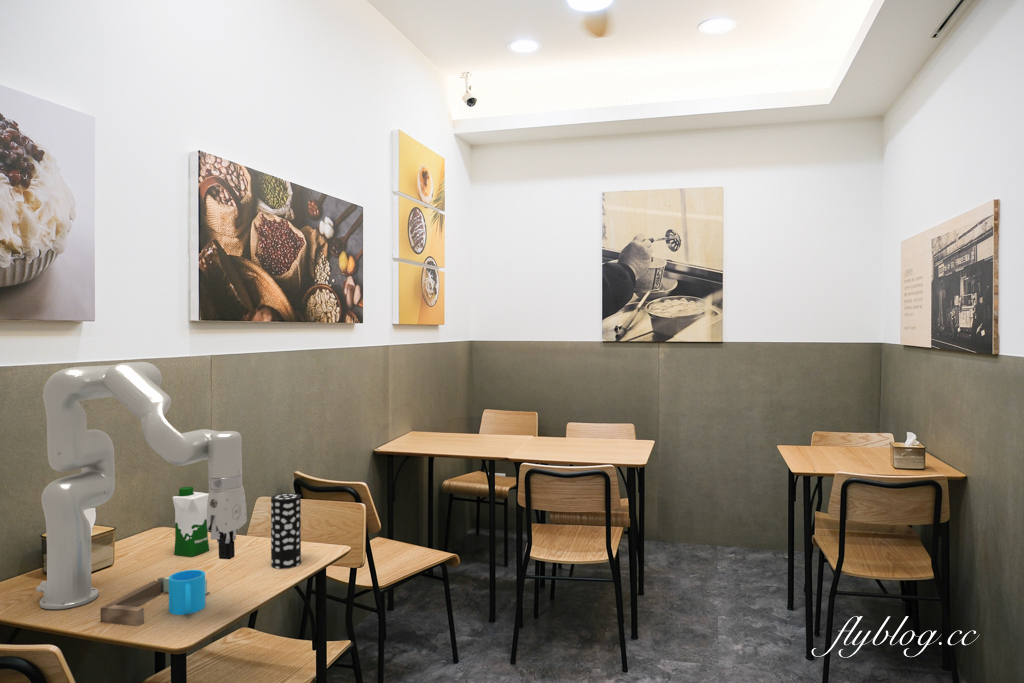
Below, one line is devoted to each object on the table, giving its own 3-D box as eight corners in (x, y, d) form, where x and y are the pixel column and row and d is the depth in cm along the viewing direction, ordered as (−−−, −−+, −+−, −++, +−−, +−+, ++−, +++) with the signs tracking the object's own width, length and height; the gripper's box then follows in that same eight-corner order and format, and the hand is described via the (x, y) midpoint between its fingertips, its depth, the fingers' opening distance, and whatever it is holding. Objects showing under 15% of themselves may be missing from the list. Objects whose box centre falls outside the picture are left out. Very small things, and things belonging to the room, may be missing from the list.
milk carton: (191, 547, 218) (191, 484, 218) (214, 550, 215) (213, 486, 215) (169, 555, 210) (169, 490, 210) (192, 558, 207) (192, 492, 207)
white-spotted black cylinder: (265, 567, 200) (265, 498, 199) (282, 558, 208) (282, 492, 207) (289, 570, 197) (289, 500, 197) (306, 561, 205) (306, 494, 205)
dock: (100, 622, 161) (100, 607, 161) (162, 589, 182) (162, 576, 182) (152, 627, 159) (152, 612, 159) (209, 593, 180) (209, 579, 180)
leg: (163, 592, 179) (163, 578, 179) (168, 589, 181) (168, 576, 181) (202, 595, 176) (202, 582, 176) (207, 592, 178) (207, 579, 178)
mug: (168, 605, 172) (168, 572, 172) (204, 599, 175) (204, 567, 175) (169, 623, 161) (168, 588, 161) (206, 616, 165) (206, 583, 165)
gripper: (220, 490, 158) (222, 569, 158) (256, 476, 173) (257, 549, 173) (191, 489, 159) (193, 567, 159) (229, 476, 174) (230, 548, 174)
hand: (226, 558), depth 166 cm, fingers closed
